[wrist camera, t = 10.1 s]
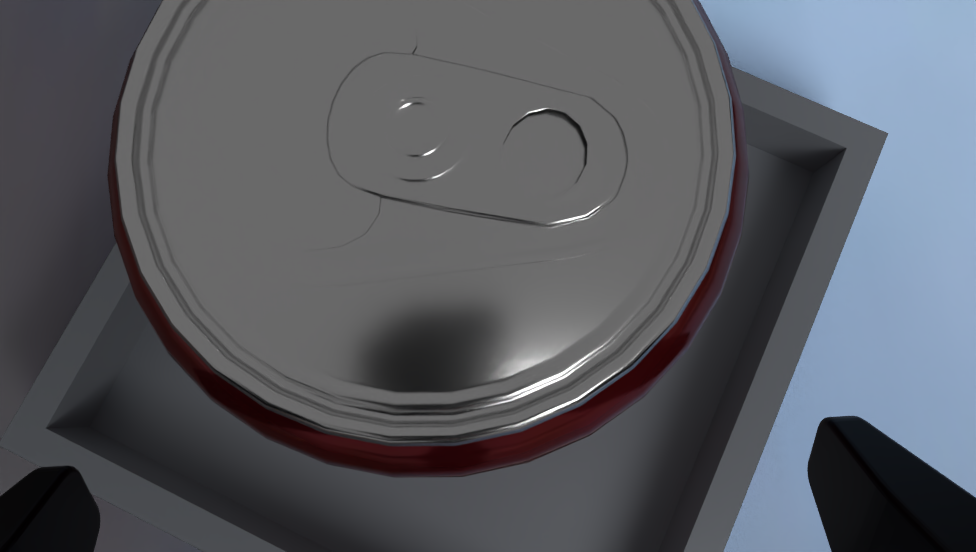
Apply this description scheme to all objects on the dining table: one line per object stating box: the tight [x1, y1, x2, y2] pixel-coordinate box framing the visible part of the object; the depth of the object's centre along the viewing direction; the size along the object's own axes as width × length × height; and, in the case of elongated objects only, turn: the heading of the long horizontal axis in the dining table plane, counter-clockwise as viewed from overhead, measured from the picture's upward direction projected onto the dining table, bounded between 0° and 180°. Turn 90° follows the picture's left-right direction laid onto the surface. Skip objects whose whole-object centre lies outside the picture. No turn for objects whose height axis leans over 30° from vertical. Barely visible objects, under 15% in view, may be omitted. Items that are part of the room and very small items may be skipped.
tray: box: [0, 67, 888, 552], centre depth 19 cm, size 16×16×2 cm
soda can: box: [108, 0, 749, 478], centre depth 14 cm, size 7×7×12 cm
